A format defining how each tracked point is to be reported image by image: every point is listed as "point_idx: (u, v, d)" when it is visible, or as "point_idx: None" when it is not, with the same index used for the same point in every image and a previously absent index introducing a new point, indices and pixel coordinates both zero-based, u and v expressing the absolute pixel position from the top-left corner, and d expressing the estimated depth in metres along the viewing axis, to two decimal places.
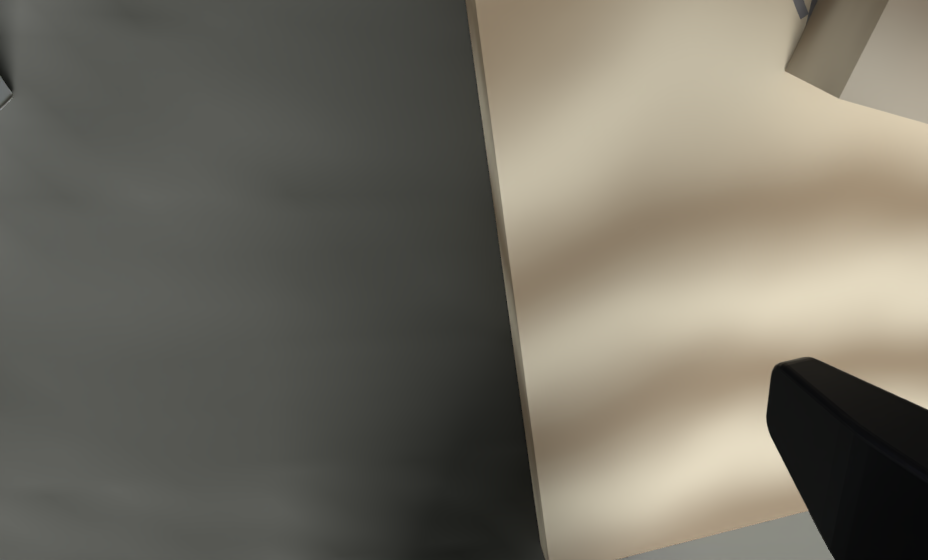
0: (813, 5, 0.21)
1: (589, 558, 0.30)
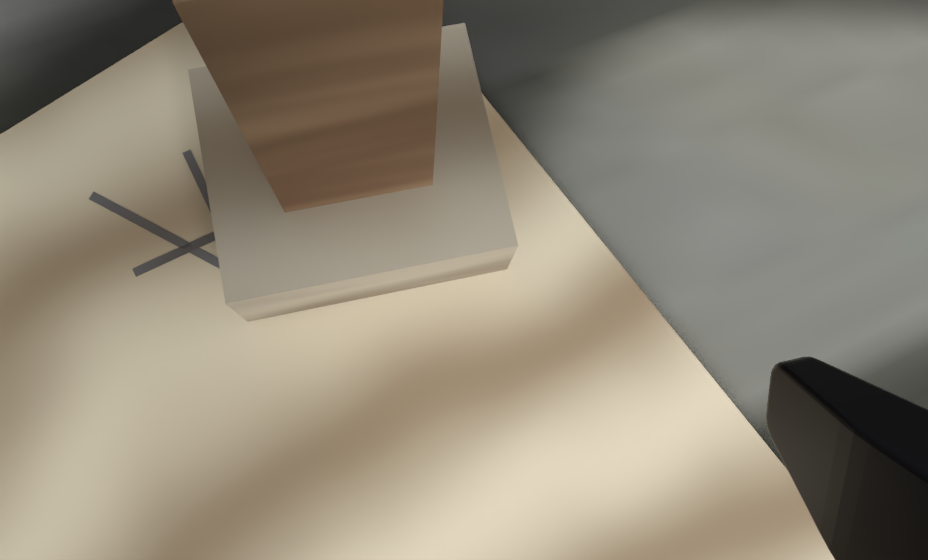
0: None
1: None
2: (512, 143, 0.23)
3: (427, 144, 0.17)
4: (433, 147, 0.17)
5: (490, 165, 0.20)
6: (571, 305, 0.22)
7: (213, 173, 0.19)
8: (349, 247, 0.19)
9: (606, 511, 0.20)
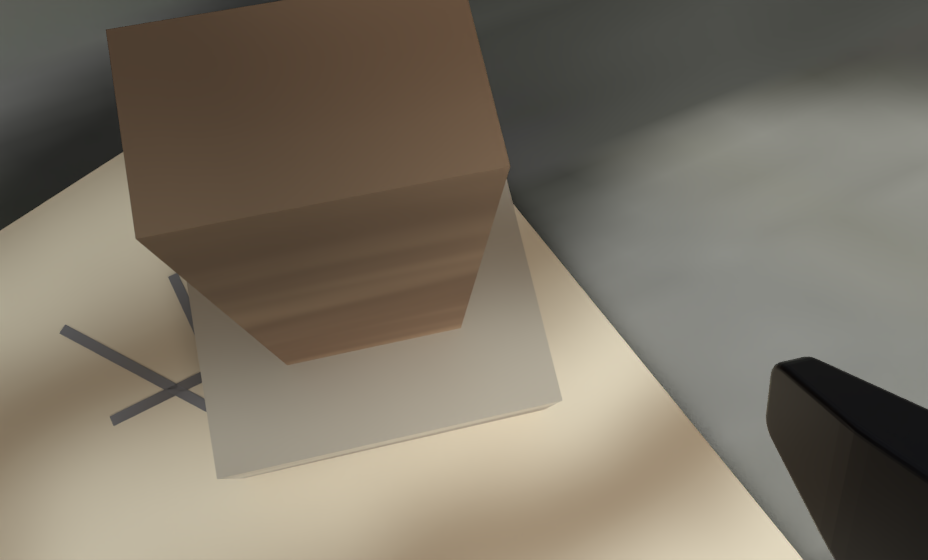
0: None
1: None
2: (547, 259, 0.20)
3: (459, 303, 0.14)
4: (466, 304, 0.14)
5: (527, 303, 0.17)
6: (618, 451, 0.19)
7: (202, 318, 0.16)
8: (363, 407, 0.16)
9: None
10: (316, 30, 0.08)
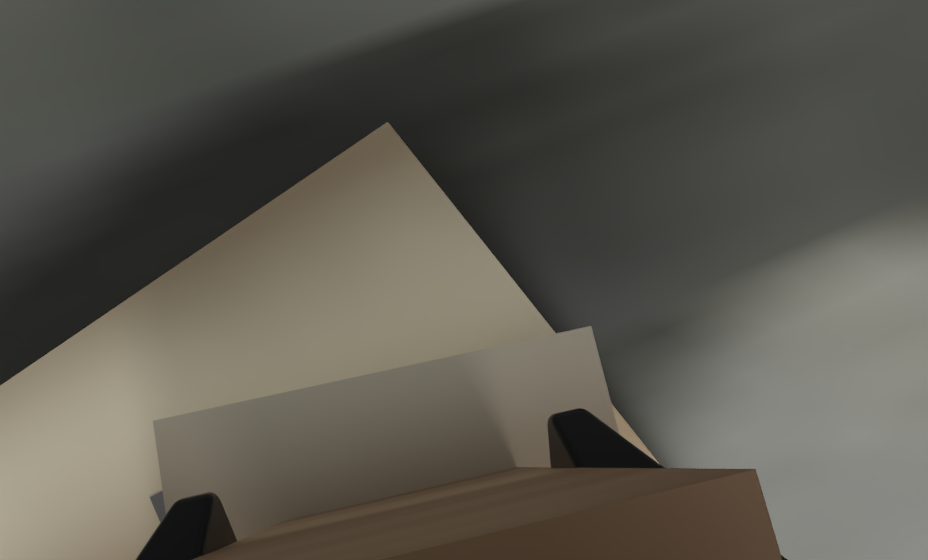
0: None
1: None
2: None
3: None
4: None
5: None
6: None
7: None
8: None
9: None
10: None
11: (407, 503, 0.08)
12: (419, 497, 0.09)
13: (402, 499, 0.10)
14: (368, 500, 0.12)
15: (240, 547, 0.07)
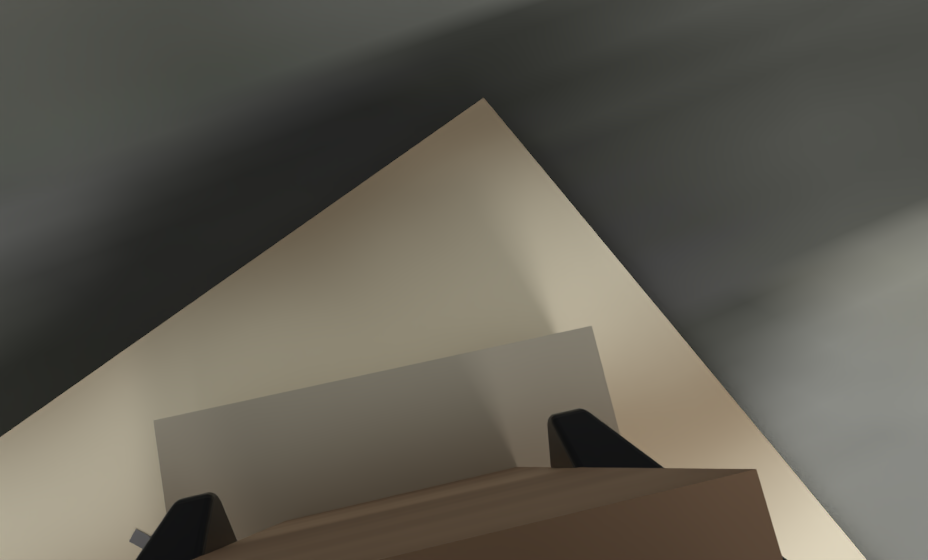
0: None
1: None
2: (744, 430, 0.15)
3: None
4: None
5: None
6: None
7: None
8: None
9: None
10: None
11: (407, 503, 0.08)
12: (419, 497, 0.09)
13: (402, 499, 0.10)
14: (368, 500, 0.12)
15: (240, 546, 0.07)
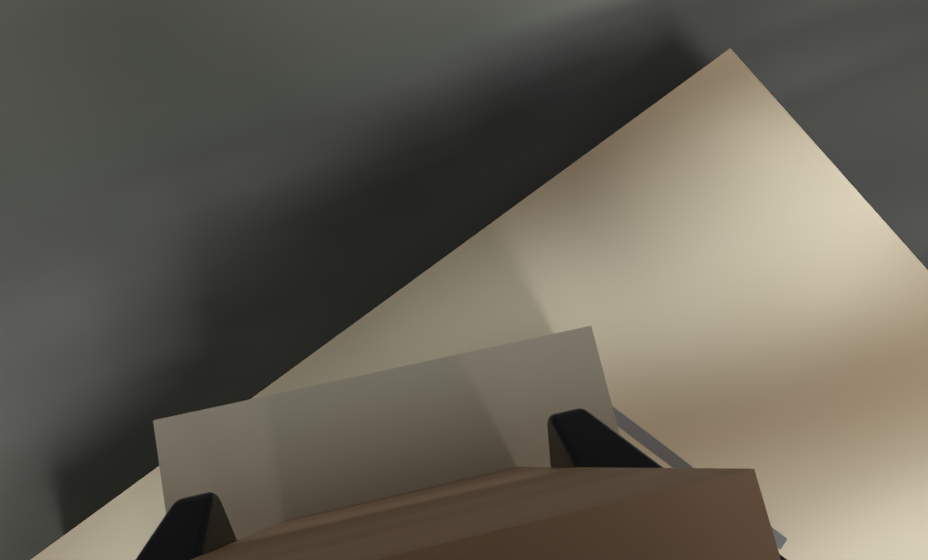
0: None
1: None
2: None
3: None
4: None
5: None
6: None
7: None
8: None
9: None
10: None
11: (407, 502, 0.08)
12: (419, 497, 0.09)
13: (402, 499, 0.10)
14: (368, 500, 0.12)
15: (240, 546, 0.07)
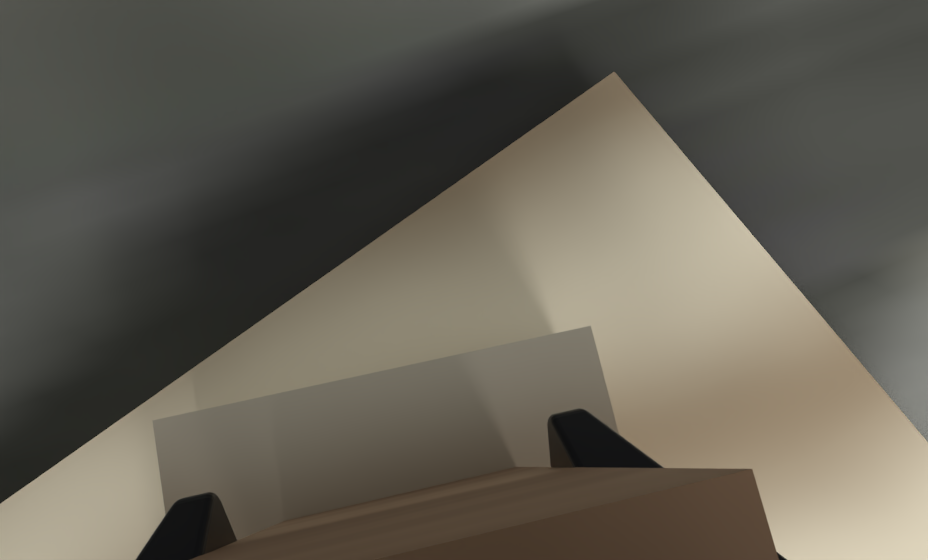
0: None
1: None
2: (876, 399, 0.16)
3: None
4: None
5: None
6: None
7: None
8: None
9: None
10: None
11: (406, 503, 0.08)
12: (418, 497, 0.09)
13: (401, 499, 0.10)
14: (368, 500, 0.12)
15: (239, 547, 0.07)
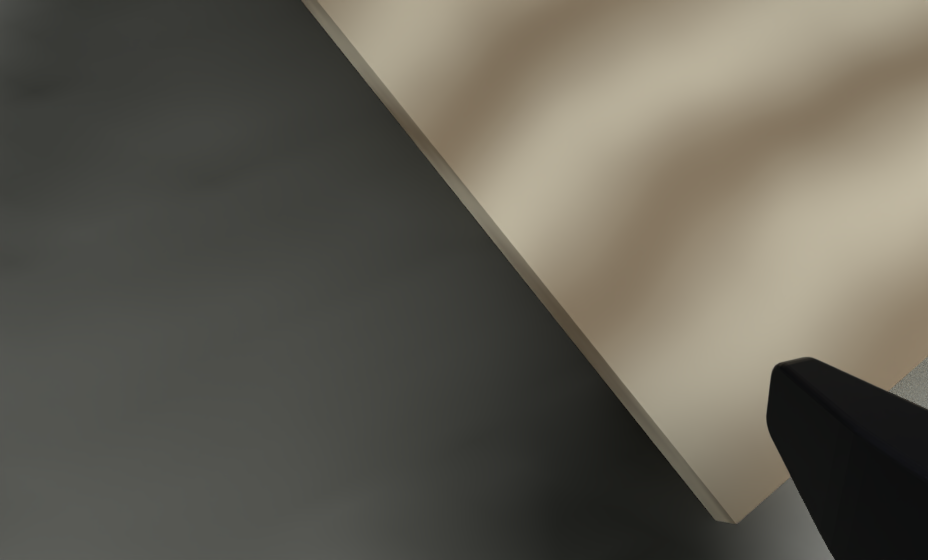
0: None
1: (767, 473, 0.21)
2: None
3: None
4: None
5: None
6: None
7: None
8: None
9: (859, 32, 0.24)
10: None
11: None
12: None
13: None
14: None
15: None
